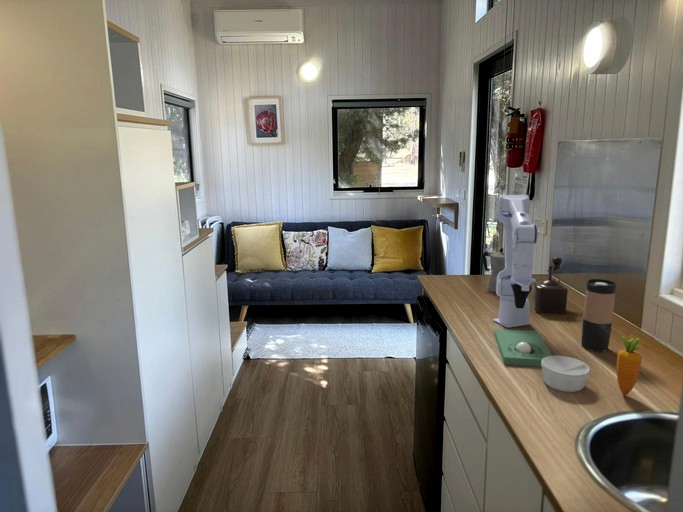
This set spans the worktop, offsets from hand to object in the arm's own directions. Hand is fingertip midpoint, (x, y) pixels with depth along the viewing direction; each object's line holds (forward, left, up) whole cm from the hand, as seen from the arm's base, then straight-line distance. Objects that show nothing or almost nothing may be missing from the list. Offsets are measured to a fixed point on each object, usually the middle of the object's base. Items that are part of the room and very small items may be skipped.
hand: (519, 307), depth 150 cm
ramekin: (+8, +28, -11) cm, 31 cm away
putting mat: (+4, +7, -10) cm, 13 cm away
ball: (+6, +10, -8) cm, 15 cm away
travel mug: (-18, +13, -11) cm, 24 cm away
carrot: (-1, +38, -11) cm, 39 cm away
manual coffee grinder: (-32, -22, -11) cm, 40 cm away
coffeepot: (-29, -48, -11) cm, 57 cm away
